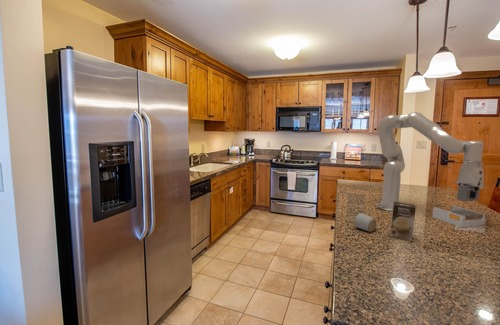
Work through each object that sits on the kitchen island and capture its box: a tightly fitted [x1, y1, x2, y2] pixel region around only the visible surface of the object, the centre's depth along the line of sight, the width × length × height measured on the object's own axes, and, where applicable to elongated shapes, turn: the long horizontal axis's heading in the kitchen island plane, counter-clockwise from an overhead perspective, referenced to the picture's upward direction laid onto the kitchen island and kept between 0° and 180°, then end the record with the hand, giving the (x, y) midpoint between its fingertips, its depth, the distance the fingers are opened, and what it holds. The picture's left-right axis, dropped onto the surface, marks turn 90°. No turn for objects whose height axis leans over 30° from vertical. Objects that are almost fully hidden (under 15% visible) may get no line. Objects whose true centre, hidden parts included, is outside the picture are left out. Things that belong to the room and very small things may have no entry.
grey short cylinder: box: [354, 212, 377, 233], centre depth 132 cm, size 11×8×8 cm
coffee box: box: [389, 201, 417, 242], centre depth 123 cm, size 9×6×16 cm
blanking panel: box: [456, 185, 481, 202], centre depth 141 cm, size 10×4×8 cm, turn 106°
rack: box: [432, 205, 486, 228], centre depth 146 cm, size 16×16×6 cm
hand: (467, 196), depth 141 cm, fingers closed on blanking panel, 4 cm apart
